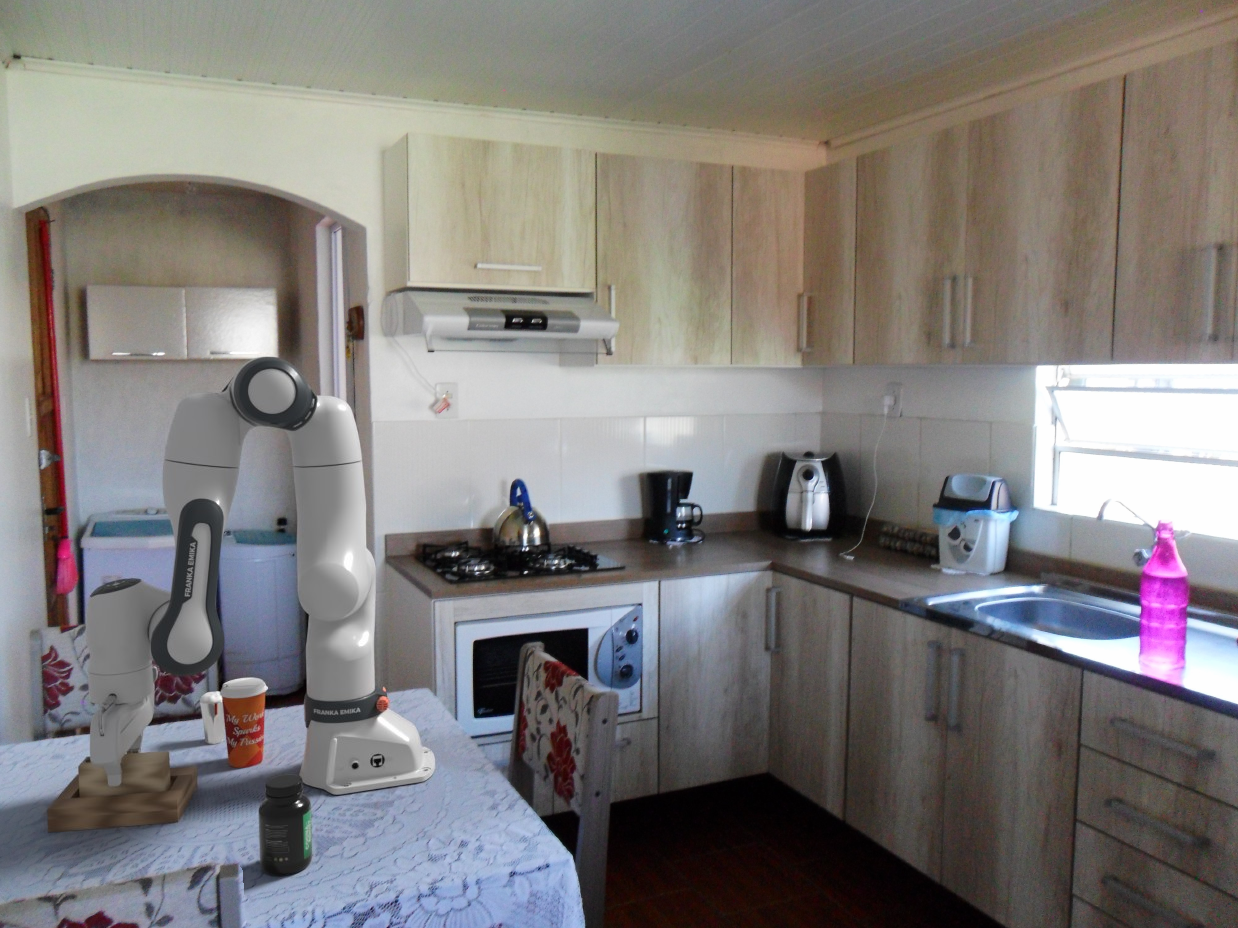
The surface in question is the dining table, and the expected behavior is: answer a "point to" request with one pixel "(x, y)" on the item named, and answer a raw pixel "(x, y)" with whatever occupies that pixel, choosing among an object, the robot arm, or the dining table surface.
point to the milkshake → (213, 717)
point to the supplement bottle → (285, 827)
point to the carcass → (122, 805)
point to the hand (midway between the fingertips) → (125, 771)
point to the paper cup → (244, 720)
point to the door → (127, 775)
